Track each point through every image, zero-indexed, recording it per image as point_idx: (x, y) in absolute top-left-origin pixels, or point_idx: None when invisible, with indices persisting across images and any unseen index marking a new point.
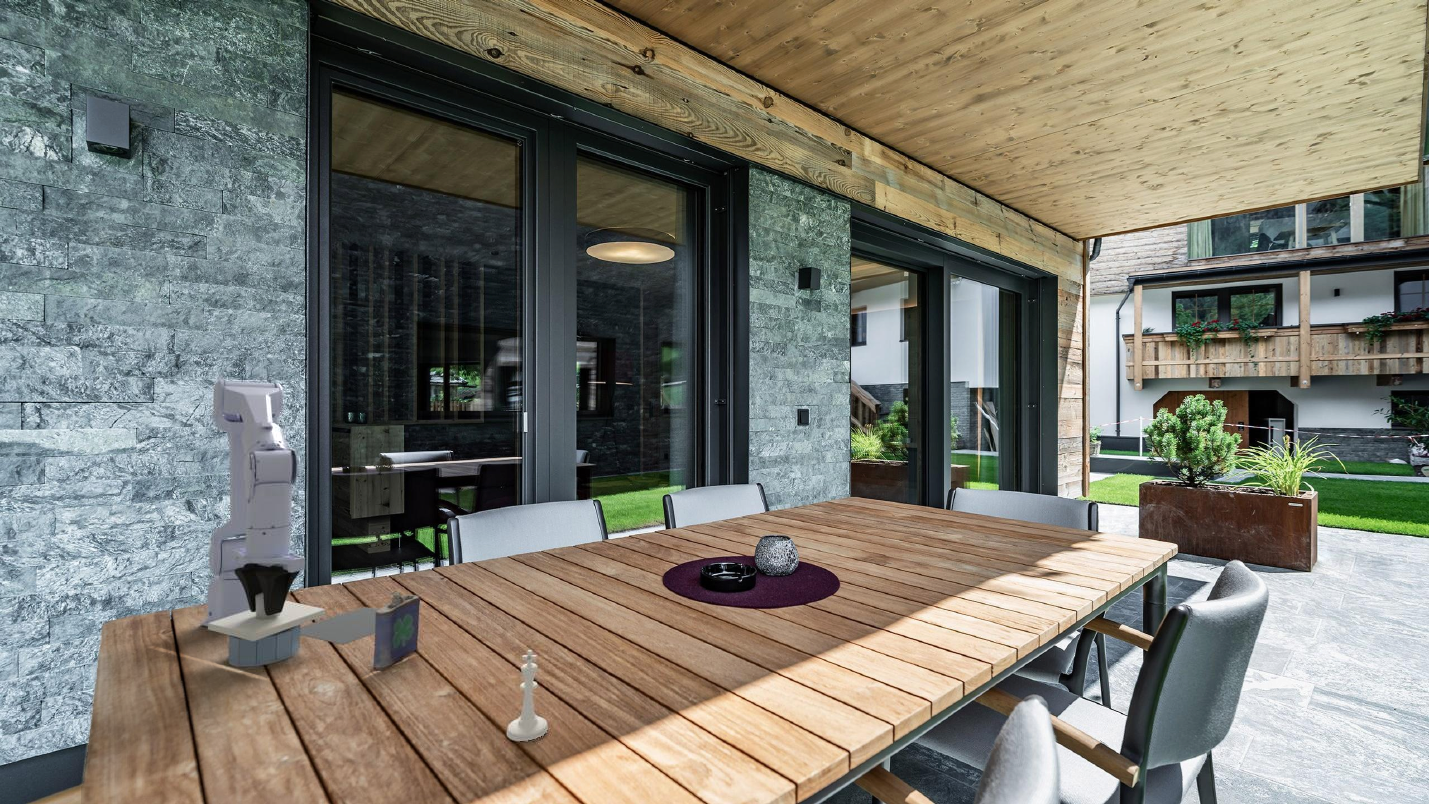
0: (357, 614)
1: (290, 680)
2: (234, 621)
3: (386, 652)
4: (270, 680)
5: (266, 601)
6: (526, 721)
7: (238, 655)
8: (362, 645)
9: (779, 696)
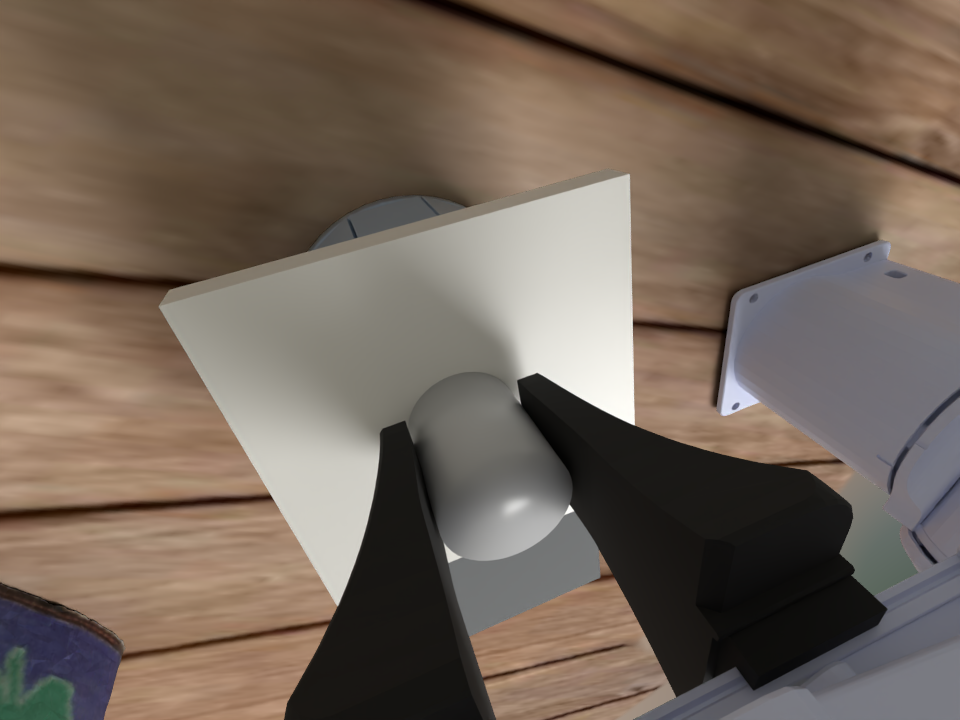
0: (556, 562)
1: (10, 328)
2: (527, 283)
3: None
4: (75, 268)
5: (382, 486)
6: None
7: (355, 225)
8: (279, 553)
9: None
